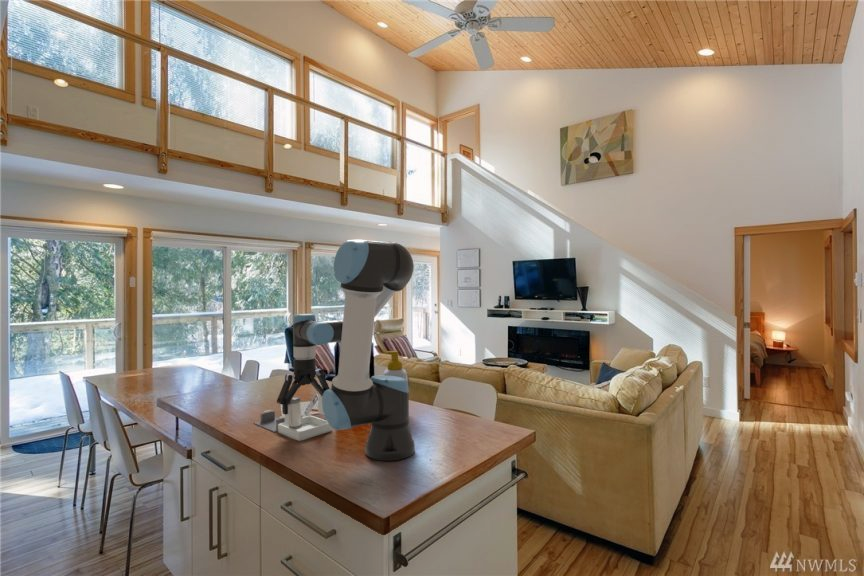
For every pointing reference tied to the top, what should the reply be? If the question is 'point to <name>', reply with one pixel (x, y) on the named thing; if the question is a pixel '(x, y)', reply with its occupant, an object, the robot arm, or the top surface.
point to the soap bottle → (395, 366)
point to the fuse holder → (270, 421)
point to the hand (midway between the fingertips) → (305, 418)
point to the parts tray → (305, 428)
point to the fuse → (295, 413)
